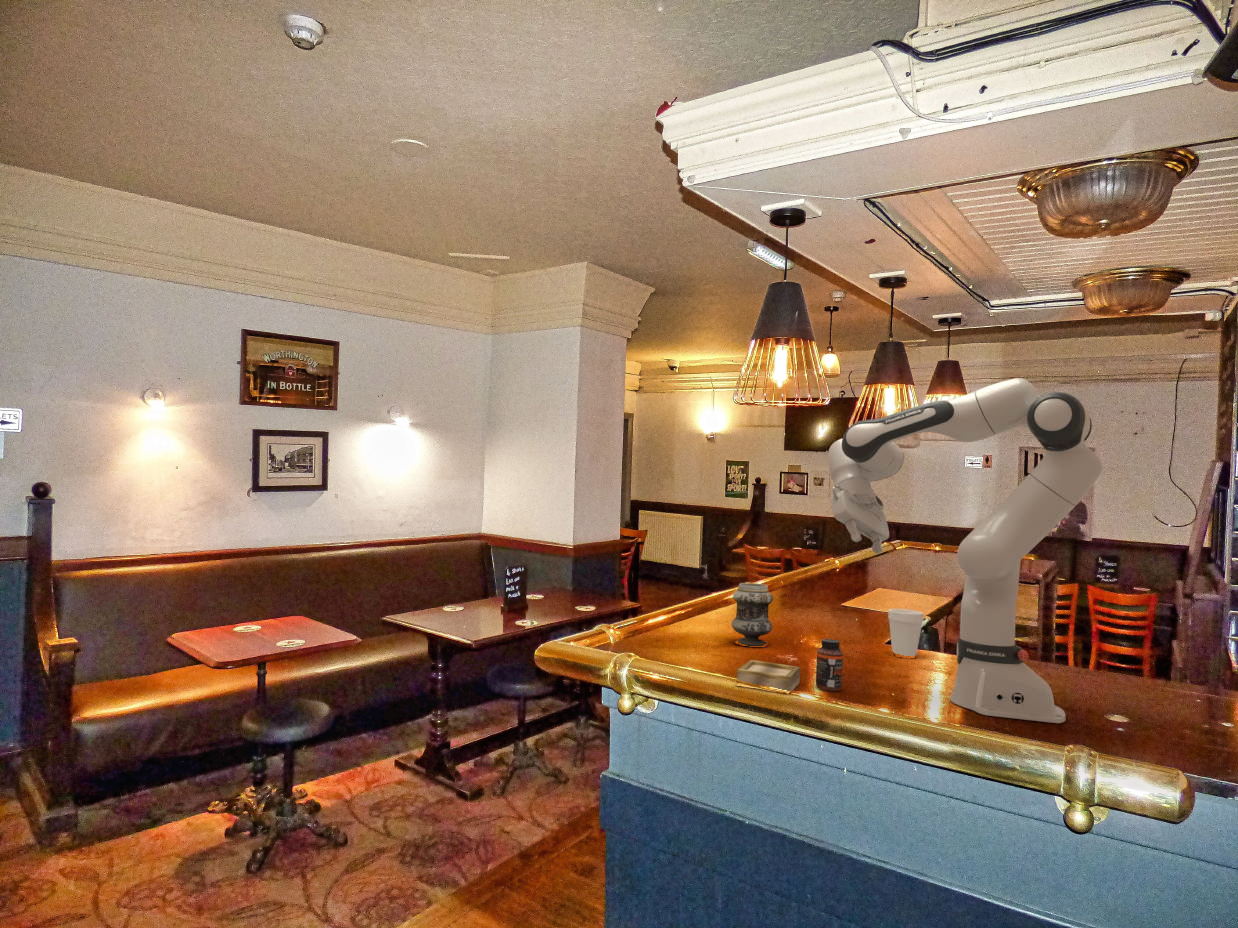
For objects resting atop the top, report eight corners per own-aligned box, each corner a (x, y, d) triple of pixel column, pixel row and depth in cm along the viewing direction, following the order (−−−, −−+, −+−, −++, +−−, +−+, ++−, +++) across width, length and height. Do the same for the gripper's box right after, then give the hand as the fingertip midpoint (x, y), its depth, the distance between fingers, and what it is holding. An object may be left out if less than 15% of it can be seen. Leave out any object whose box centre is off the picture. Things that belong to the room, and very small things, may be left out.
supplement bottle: (837, 693, 167) (839, 643, 168) (812, 688, 170) (814, 640, 171) (844, 688, 172) (846, 640, 173) (819, 683, 176) (821, 636, 176)
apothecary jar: (758, 639, 227) (761, 581, 227) (779, 648, 215) (781, 587, 216) (723, 640, 223) (726, 581, 224) (742, 649, 211) (745, 586, 212)
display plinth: (799, 682, 175) (800, 666, 175) (788, 694, 164) (789, 677, 165) (750, 675, 180) (751, 659, 181) (736, 685, 170) (737, 669, 170)
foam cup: (924, 661, 207) (925, 615, 208) (890, 658, 209) (891, 612, 210) (917, 654, 217) (919, 610, 217) (884, 651, 218) (886, 607, 219)
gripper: (843, 477, 175) (855, 527, 167) (886, 505, 187) (900, 553, 179) (820, 488, 178) (832, 538, 171) (865, 515, 190) (877, 562, 182)
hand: (867, 546), depth 175 cm, fingers open, 8 cm apart
